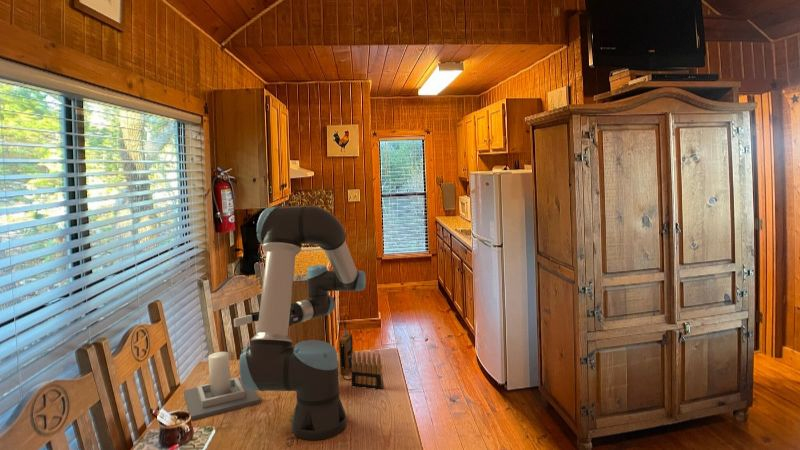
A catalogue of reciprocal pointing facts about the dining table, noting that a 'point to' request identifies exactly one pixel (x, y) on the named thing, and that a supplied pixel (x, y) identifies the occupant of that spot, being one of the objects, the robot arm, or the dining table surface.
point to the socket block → (218, 399)
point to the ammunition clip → (367, 371)
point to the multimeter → (345, 351)
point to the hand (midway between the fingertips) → (245, 326)
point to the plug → (219, 373)
